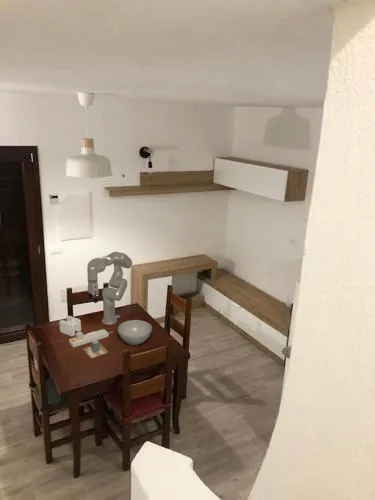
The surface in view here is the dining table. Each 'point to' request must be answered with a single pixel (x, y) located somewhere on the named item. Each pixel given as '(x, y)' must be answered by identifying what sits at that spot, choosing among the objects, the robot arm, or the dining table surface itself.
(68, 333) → the cable organizer
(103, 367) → the dining table surface
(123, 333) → the decorative bowl
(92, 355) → the beige square cloth
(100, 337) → the power strip
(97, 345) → the charger
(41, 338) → the dining table surface
